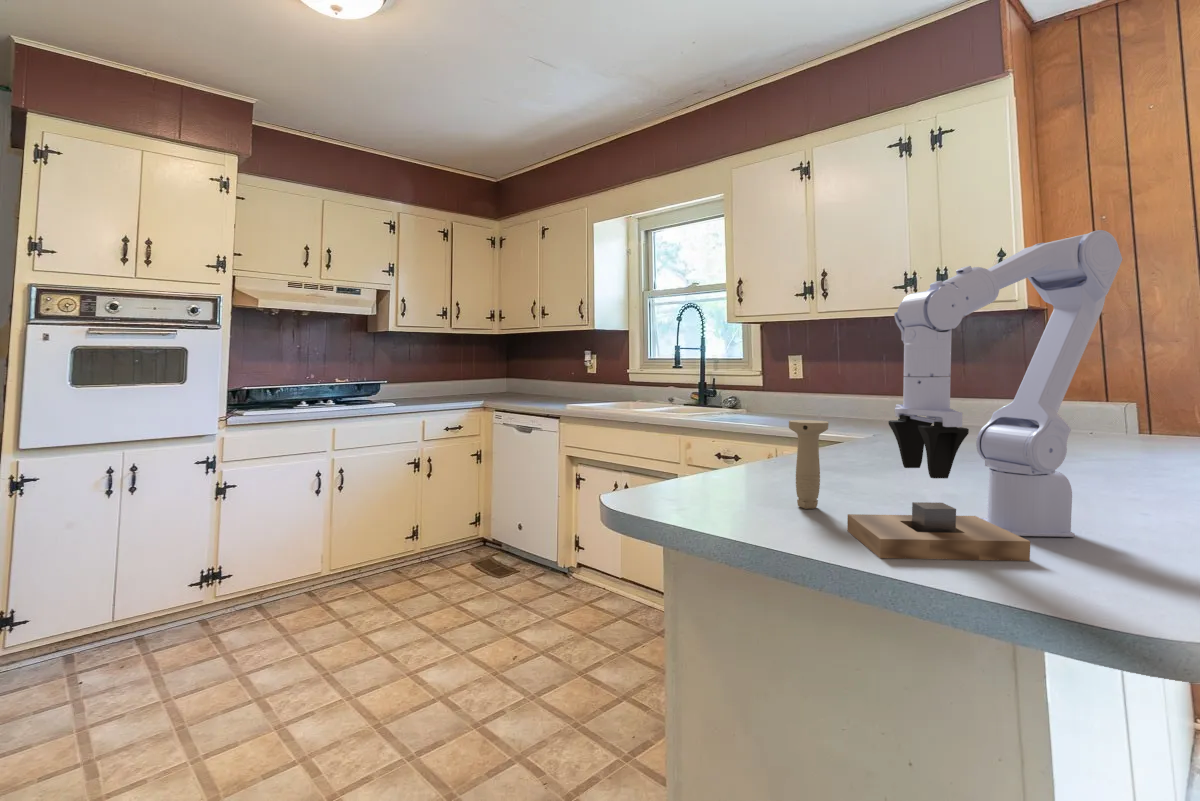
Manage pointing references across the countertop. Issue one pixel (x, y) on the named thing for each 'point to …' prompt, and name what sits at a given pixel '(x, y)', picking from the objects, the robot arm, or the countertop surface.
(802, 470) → the handle
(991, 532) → the well board
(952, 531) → the grey stone block
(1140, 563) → the countertop surface
